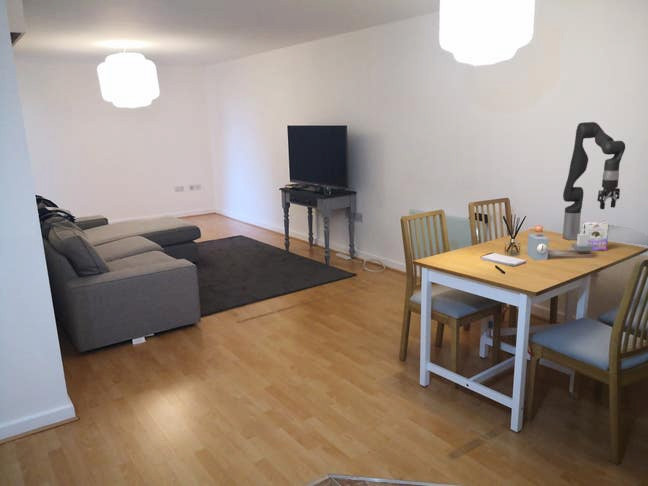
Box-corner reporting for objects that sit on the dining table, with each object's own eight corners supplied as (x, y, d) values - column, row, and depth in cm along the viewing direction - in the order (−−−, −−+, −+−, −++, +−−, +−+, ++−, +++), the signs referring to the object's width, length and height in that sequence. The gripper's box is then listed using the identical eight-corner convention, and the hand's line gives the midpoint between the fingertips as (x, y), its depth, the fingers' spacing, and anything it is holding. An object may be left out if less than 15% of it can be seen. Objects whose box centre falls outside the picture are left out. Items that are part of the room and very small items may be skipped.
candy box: (602, 248, 296) (605, 221, 292) (606, 250, 290) (609, 223, 286) (578, 248, 298) (580, 221, 294) (581, 251, 292) (584, 223, 288)
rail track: (540, 254, 288) (540, 248, 287) (586, 252, 287) (586, 247, 287) (547, 259, 278) (548, 253, 278) (594, 257, 278) (595, 251, 277)
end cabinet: (526, 254, 289) (527, 234, 286) (538, 253, 289) (540, 233, 286) (535, 260, 277) (536, 239, 274) (547, 259, 277) (549, 238, 274)
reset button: (533, 230, 282) (533, 225, 281) (540, 230, 282) (541, 225, 281) (536, 232, 278) (536, 227, 277) (543, 232, 278) (543, 226, 277)
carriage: (571, 247, 286) (572, 233, 284) (585, 247, 286) (586, 232, 283) (578, 251, 278) (579, 236, 276) (592, 250, 278) (594, 235, 276)
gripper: (613, 176, 274) (610, 205, 278) (595, 179, 269) (592, 208, 273) (625, 178, 268) (622, 207, 272) (607, 180, 262) (604, 210, 266)
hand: (607, 208), depth 272 cm, fingers open, 8 cm apart
